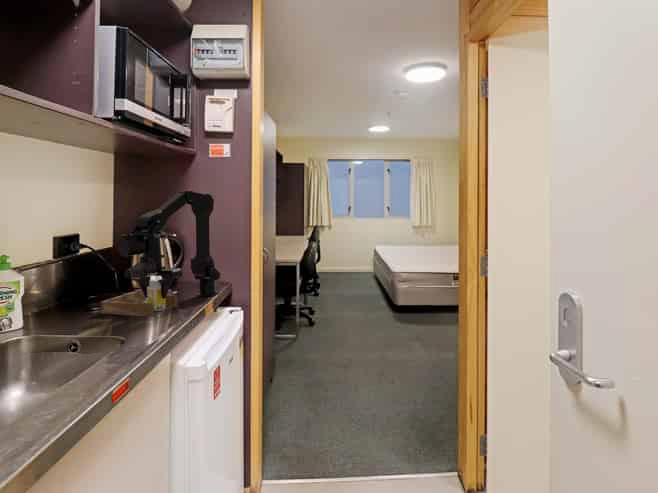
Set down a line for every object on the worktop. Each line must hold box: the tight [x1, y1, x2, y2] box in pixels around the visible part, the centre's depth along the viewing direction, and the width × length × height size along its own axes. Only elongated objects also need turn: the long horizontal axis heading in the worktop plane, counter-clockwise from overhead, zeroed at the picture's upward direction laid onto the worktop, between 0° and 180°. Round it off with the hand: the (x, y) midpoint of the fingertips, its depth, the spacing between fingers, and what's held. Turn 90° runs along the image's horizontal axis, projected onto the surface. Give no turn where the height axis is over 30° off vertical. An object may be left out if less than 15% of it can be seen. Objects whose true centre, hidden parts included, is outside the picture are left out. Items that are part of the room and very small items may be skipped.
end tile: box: [153, 306, 176, 317], centre depth 130 cm, size 11×7×1 cm, turn 165°
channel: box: [99, 288, 178, 318], centre depth 135 cm, size 20×20×4 cm
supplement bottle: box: [146, 278, 165, 311], centre depth 130 cm, size 6×6×10 cm
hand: (155, 298), depth 130 cm, fingers open, 6 cm apart
